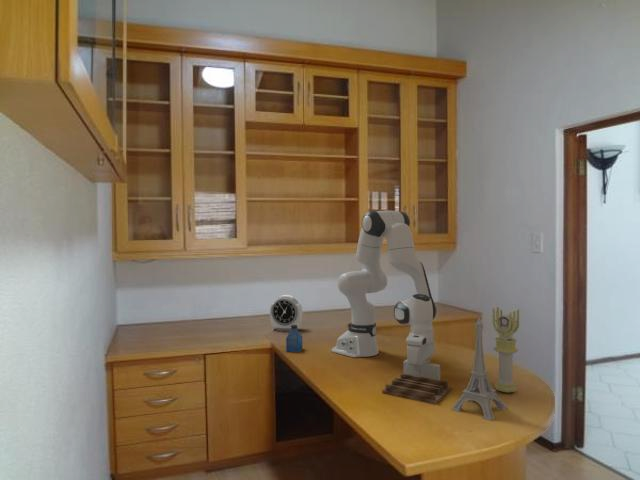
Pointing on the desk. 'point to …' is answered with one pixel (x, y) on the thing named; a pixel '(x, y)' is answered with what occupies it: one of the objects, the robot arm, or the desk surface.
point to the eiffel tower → (480, 382)
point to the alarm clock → (285, 313)
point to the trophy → (505, 348)
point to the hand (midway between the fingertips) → (421, 370)
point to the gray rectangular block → (423, 370)
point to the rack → (418, 388)
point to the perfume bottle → (294, 340)
